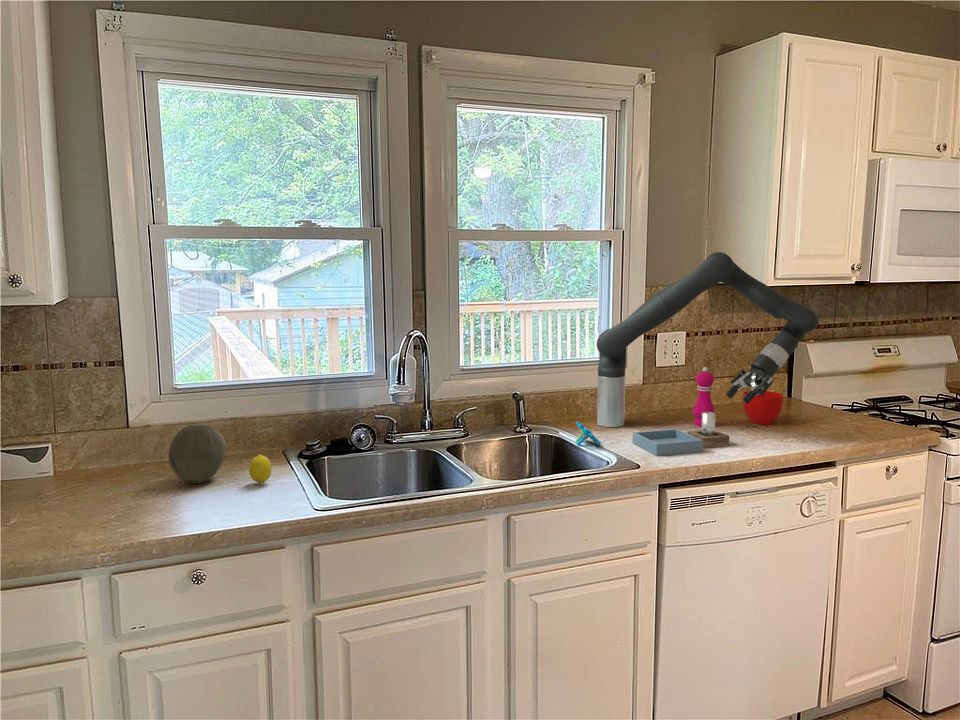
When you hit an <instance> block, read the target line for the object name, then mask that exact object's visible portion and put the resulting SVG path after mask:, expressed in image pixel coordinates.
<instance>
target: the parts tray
mask: <svg viewBox="0 0 960 720" xmlns="http://www.w3.org/2000/svg"><path fill="white" fill-rule="evenodd" d="M631 436H632V438H631V440H632V441H631V443H632V444H633V445H634V446H636V447H638V448H640V449H642V450H644V451H645V452H647V453H650V454H652V455H653V456H655V457H660V456H661V457H663V456H671V455H673V456H674V455H684V454H694V453H703V450H704V448H703V440H701V439H699V438H696V437H694V436H692V435H689V434H687V432H685V431H683V430H679V429H677V428H671V429H657V430H649V431H648V430H645V431H634V432H632V435H631Z"/></svg>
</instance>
